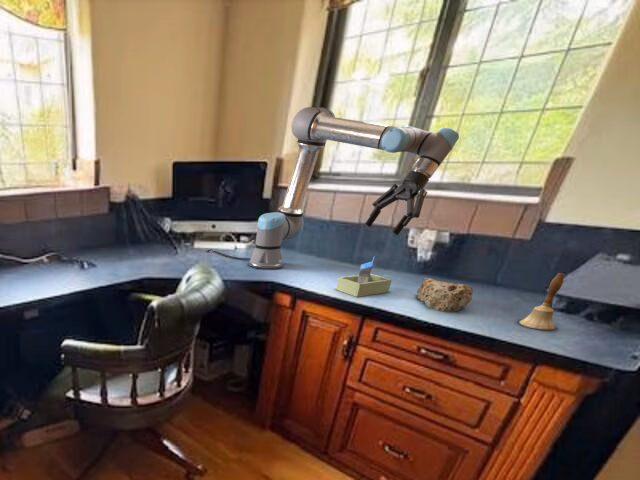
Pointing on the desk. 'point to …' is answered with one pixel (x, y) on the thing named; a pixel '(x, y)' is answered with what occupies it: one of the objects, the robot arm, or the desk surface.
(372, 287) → the dock
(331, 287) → the desk surface
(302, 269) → the desk surface
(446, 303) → the rock
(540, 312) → the hand bell
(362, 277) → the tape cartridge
